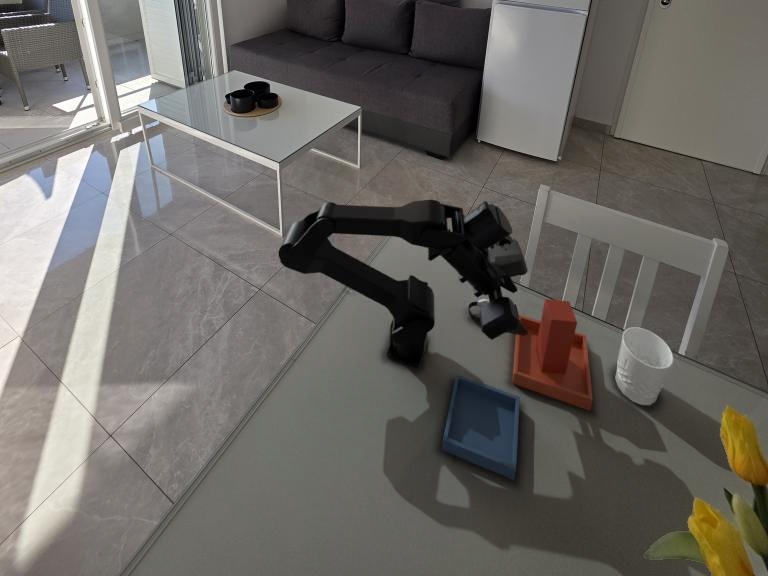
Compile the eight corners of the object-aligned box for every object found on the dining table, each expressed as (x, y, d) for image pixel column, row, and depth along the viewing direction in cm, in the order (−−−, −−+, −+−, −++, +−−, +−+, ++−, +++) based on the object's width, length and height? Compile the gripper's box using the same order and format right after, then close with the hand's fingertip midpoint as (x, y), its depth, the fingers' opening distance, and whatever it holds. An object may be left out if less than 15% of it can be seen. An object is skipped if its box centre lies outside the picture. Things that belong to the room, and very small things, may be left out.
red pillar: (541, 371, 81) (551, 319, 77) (535, 349, 85) (544, 298, 81) (565, 374, 81) (577, 322, 76) (558, 351, 85) (569, 301, 81)
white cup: (667, 414, 75) (681, 373, 72) (619, 403, 76) (631, 363, 73) (650, 370, 82) (662, 331, 79) (606, 361, 84) (616, 323, 80)
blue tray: (442, 450, 69) (443, 439, 68) (455, 383, 79) (456, 373, 78) (514, 480, 65) (516, 469, 65) (517, 406, 75) (519, 396, 75)
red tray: (512, 383, 79) (514, 373, 78) (516, 324, 91) (518, 314, 90) (590, 410, 75) (592, 400, 74) (583, 345, 87) (586, 335, 86)
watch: (501, 309, 94) (503, 296, 93) (505, 328, 90) (507, 315, 89) (466, 306, 95) (468, 293, 94) (468, 324, 90) (470, 311, 89)
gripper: (512, 276, 66) (573, 337, 69) (494, 202, 84) (543, 253, 86) (456, 310, 69) (517, 367, 72) (450, 231, 87) (499, 279, 89)
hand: (520, 311), depth 80 cm, fingers open, 9 cm apart
